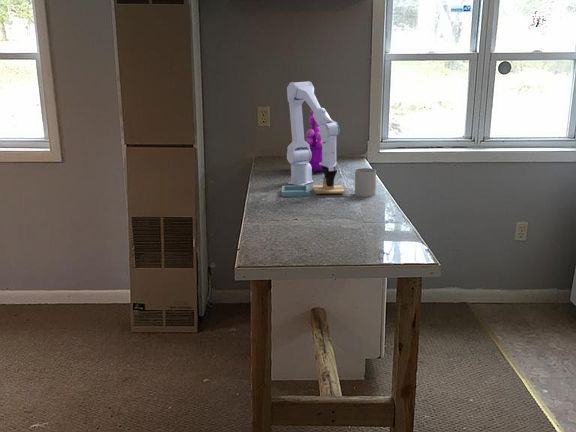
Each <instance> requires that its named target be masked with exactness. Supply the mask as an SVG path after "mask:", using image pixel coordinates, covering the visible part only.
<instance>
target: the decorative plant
mask: <svg viewBox="0 0 576 432" xmlns="http://www.w3.org/2000/svg"><path fill="white" fill-rule="evenodd" d="M313 113H314V112H313V110H312V109H311V108H310V111H309V115H311V116H309V119H308V122H309V124H310V125H311V128H309V129H307V131H306V133H305V137H306V138H305V142H307V143H308V144H309V146H310V151H311V154H312V157H311V160H310V161H309V164H310V165H311V167H312V172H319V171H321V172H322V171H323V169H322V167H323V165H319V163H322V141H321V136H320V133H319V129H320V127H319V126H317V125H318V124H317V122H316V121H315V119H314V117H313ZM300 148H302V147H300ZM296 149H299V148H296Z"/></svg>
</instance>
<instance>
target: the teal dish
mask: <svg viewBox="0 0 576 432" xmlns="http://www.w3.org/2000/svg"><path fill="white" fill-rule="evenodd" d="M281 197H282V198H286V197H287V198H293V197H295V198H296V197H297V198H298V197H310V189H309V185H308V184H306V185H303V186H300V185H282V186H281Z"/></svg>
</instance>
